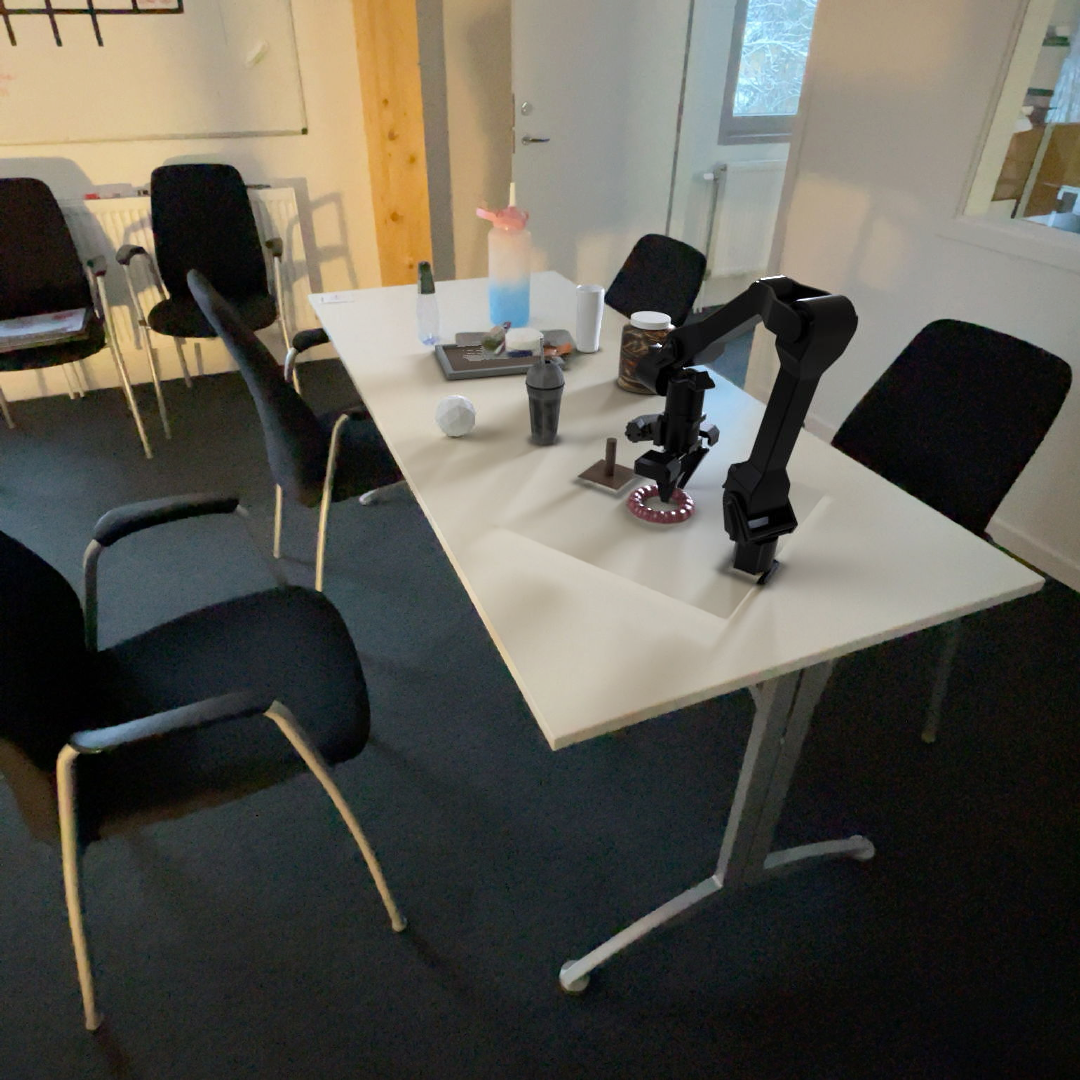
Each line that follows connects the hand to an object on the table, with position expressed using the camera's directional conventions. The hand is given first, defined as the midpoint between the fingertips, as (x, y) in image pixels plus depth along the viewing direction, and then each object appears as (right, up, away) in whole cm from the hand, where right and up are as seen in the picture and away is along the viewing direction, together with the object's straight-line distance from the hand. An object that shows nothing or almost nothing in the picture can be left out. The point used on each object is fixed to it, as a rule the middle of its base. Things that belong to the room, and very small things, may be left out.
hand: (672, 495), depth 123 cm
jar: (+1, +27, +42) cm, 50 cm away
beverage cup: (-21, +12, +19) cm, 31 cm away
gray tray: (-30, +35, +54) cm, 71 cm away
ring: (-2, -2, -3) cm, 4 cm away
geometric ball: (-38, +13, +20) cm, 45 cm away
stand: (-10, +3, +6) cm, 12 cm away
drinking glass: (-10, +39, +60) cm, 73 cm away
